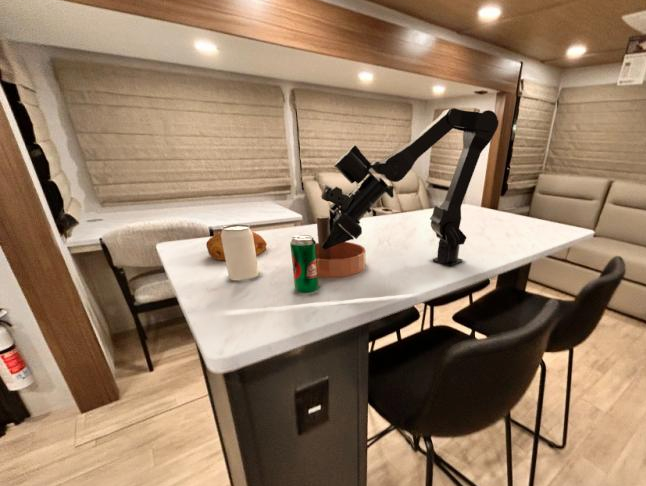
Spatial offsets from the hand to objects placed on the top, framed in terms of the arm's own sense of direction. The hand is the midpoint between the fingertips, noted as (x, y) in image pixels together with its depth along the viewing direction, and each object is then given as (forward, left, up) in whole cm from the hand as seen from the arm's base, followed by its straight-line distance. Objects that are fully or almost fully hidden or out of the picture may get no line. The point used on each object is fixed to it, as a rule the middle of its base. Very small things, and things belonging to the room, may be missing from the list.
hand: (322, 242), depth 78 cm
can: (+17, -9, -7) cm, 20 cm away
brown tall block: (0, 0, -6) cm, 7 cm away
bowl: (-2, +1, -7) cm, 8 cm away
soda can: (+11, +8, -7) cm, 15 cm away
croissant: (+10, -27, -7) cm, 29 cm away
